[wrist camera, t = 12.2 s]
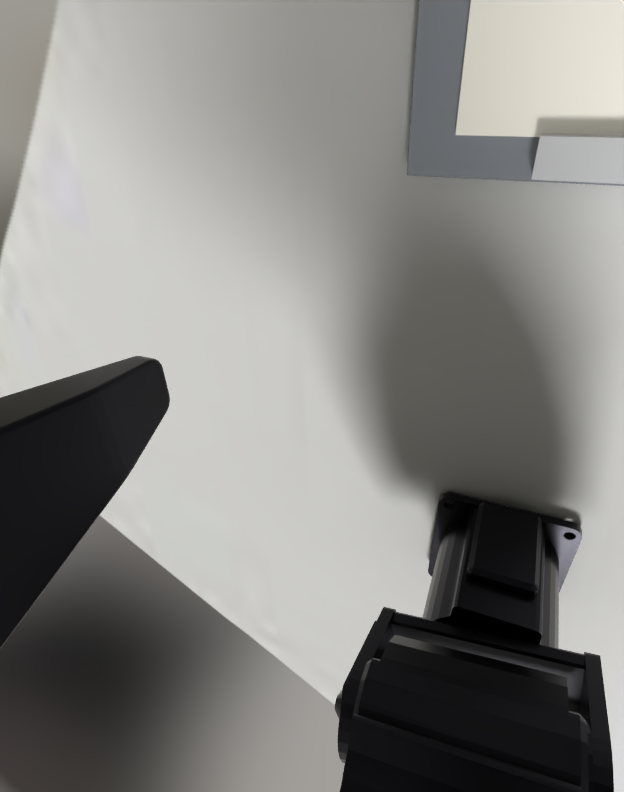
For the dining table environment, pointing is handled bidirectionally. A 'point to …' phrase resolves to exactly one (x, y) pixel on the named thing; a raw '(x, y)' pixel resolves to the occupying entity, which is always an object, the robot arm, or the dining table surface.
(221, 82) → the dining table surface
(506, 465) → the dining table surface
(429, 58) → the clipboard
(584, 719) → the robot arm
